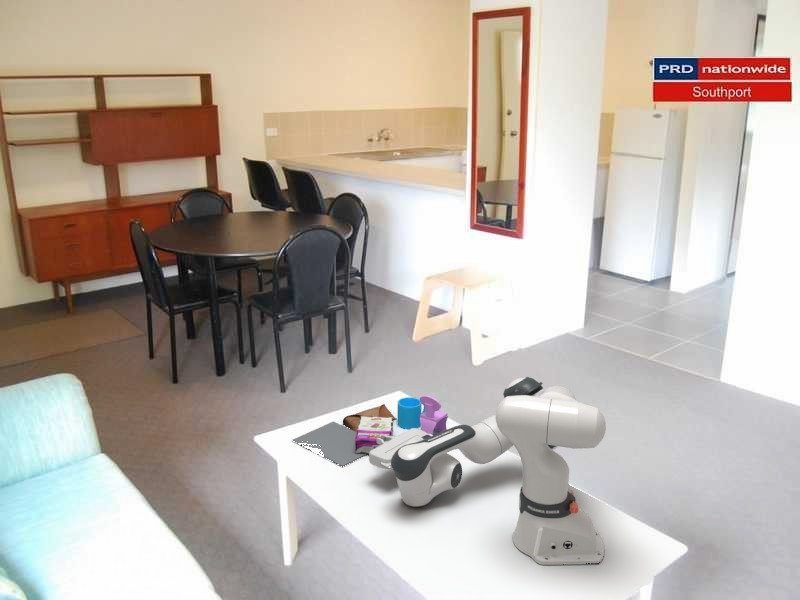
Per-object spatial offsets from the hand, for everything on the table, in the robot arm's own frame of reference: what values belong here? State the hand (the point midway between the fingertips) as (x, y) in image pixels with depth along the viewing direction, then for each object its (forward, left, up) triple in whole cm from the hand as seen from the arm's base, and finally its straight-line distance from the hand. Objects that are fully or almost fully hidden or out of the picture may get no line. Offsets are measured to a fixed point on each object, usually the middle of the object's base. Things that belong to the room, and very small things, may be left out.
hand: (379, 438), depth 212 cm
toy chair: (-14, -22, -9) cm, 27 cm away
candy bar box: (+3, -4, -6) cm, 8 cm away
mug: (-6, -29, -9) cm, 31 cm away
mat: (+16, -10, -9) cm, 21 cm away
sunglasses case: (+9, -27, -9) cm, 30 cm away
